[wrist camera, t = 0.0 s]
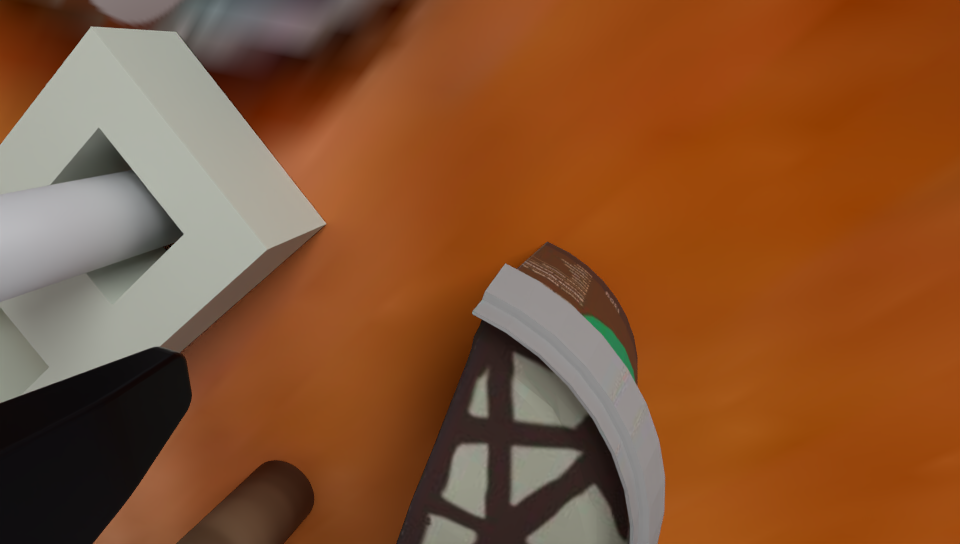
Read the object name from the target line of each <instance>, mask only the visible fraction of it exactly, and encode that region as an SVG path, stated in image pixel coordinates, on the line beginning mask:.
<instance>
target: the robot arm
mask: <svg viewBox="0 0 960 544" xmlns="http://www.w3.org/2000/svg"><path fill="white" fill-rule="evenodd" d="M191 397H192V392H191V386H190V380H189V374H188V368H187V363H186V359H185V357H184V356H183V354H181V353H179V352H176V351H173V350H170V349H167V348H164V347H152V348H149V349H146V350H143V351H141V352H138V353H135V354H132V355H130V356H127V357H124V358H122V359H119V360H116V361H113V362H111V363H108V364H105V365H102V366H100V367H97V368H94V369H91V370H89V371H86V372H83V373H81V374H78V375H75V376H72V377H70V378H67V379H64V380H61V381H59V382H56V383H53V384H51V385H48V386H45V387H42V388H40V389H37V390H34V391H31V392H29V393H26V394H23V395H21V396H18V397H15V398H12V399H10V400H7V401H4V402H1V403H0V544H93V542H94V541H95V540H96V539H97V537H98V536H99V535H100V534H101V533H102V531H103V530H104V529H105V528H106V526H107V525H108V524H109V523H110V521H111V520H112V519H113V518H114V517H115V515H116V514H117V513H118V512H119V510H120V509H121V508H122V506H123V505H124V504H125V502H126V501H127V500H128V499H129V497H130V496H131V494H132V493H133V492H134V490H135V489H136V487H137V486H138V485H139V483H140V482H141V480H142V479H143V477H144V476H145V474H146V473H147V471H148V469H149V468H150V466H151V465H152V463H153V462H154V460H155V459H156V457H157V456H158V454H159V453H160V451H161V450H162V448H163V447H164V445H165V444H166V442H167V441H168V439H169V438H170V436H171V435H172V433H173V432H174V430H175V429H176V427H177V425H178V424H179V422H180V421H181V419H182V418H183V416H184V415H185V413H186V412H187V410H188V408H189V406H190V402H191Z"/></svg>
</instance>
